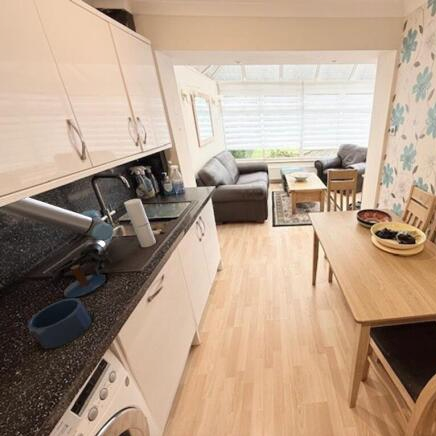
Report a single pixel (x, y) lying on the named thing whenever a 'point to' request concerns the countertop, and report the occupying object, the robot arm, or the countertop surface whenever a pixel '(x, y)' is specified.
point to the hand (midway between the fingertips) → (74, 277)
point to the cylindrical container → (140, 222)
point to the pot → (59, 323)
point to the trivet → (92, 291)
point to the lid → (83, 283)
